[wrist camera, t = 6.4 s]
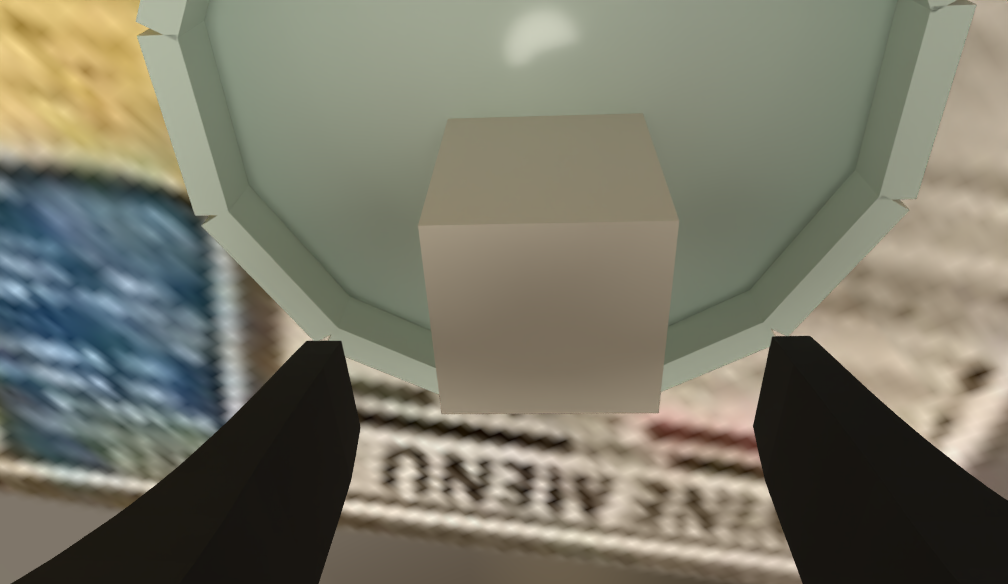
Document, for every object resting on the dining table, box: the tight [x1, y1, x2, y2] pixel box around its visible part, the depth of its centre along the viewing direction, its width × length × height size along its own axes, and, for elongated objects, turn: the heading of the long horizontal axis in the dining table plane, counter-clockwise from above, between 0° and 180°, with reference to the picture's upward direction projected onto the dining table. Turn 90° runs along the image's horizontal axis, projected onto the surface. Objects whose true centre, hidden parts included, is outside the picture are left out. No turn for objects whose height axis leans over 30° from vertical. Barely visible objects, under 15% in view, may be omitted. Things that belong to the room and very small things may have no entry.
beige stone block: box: [418, 113, 679, 414], centre depth 15 cm, size 4×4×5 cm
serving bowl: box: [136, 0, 976, 394], centre depth 16 cm, size 16×16×2 cm
